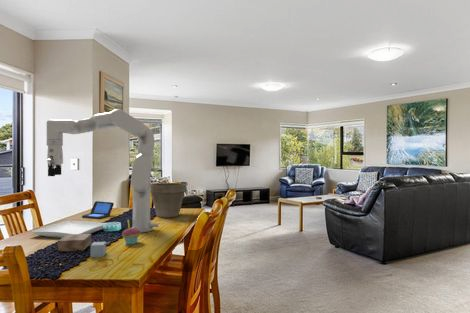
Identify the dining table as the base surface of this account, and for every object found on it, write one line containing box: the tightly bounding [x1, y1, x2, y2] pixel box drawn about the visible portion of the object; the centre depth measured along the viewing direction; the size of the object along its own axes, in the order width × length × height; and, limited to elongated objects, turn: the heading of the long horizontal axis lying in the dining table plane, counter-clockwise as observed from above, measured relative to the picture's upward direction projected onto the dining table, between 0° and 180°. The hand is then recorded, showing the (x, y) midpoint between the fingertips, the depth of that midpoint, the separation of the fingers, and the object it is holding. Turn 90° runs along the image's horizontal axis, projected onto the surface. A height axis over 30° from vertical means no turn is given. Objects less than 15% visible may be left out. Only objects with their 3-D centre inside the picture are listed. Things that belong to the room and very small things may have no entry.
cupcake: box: [121, 219, 141, 245], centre depth 158 cm, size 9×8×12 cm
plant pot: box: [151, 182, 187, 219], centre depth 224 cm, size 25×25×22 cm
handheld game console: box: [81, 200, 115, 220], centre depth 220 cm, size 16×13×9 cm
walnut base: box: [57, 233, 92, 252], centre depth 150 cm, size 11×11×5 cm
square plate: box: [31, 220, 107, 239], centre depth 177 cm, size 27×27×4 cm
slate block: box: [90, 241, 107, 258], centre depth 139 cm, size 5×5×5 cm
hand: (54, 175), depth 174 cm, fingers open, 9 cm apart
